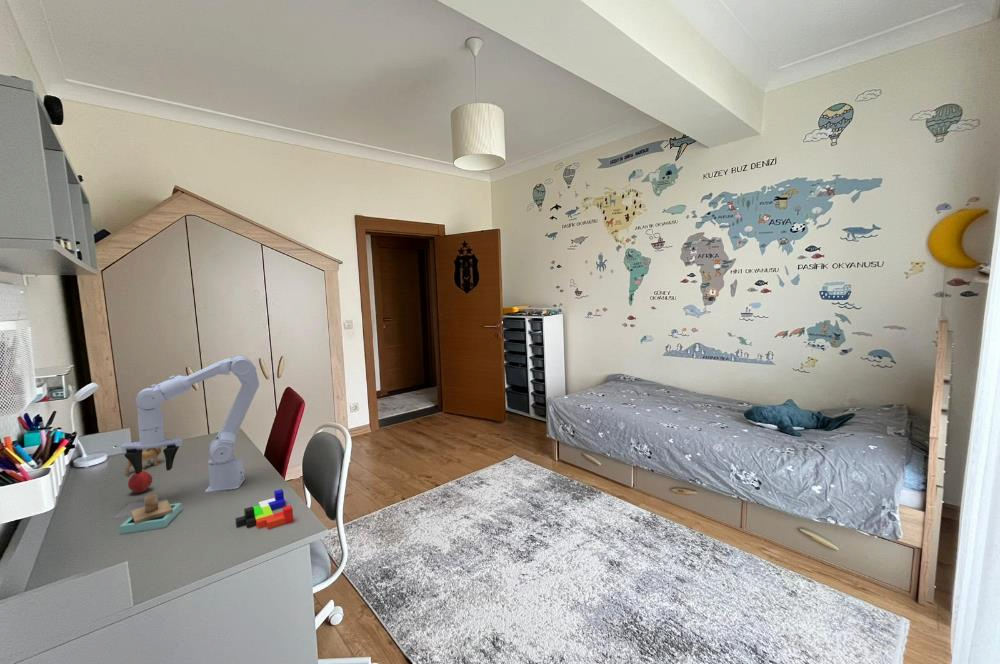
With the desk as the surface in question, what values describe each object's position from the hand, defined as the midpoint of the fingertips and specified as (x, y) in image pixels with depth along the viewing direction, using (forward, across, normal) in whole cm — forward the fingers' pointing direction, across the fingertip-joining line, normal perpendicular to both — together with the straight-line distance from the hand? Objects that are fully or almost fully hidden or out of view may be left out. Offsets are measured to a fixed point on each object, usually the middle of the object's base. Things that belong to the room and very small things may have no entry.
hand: (154, 470), depth 125 cm
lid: (+7, -4, +14) cm, 16 cm away
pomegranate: (+10, +8, -9) cm, 16 cm away
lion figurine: (+10, +17, -34) cm, 39 cm away
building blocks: (+11, -34, +22) cm, 41 cm away
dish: (+10, -5, +14) cm, 18 cm away
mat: (+10, +2, +4) cm, 11 cm away
